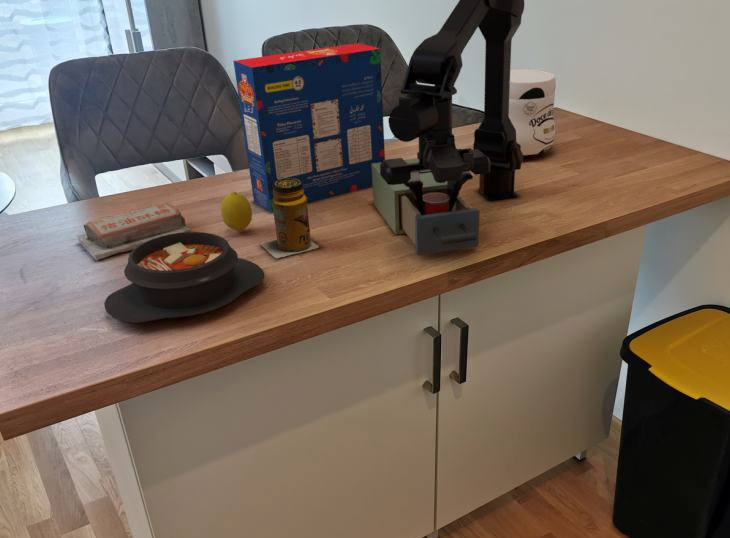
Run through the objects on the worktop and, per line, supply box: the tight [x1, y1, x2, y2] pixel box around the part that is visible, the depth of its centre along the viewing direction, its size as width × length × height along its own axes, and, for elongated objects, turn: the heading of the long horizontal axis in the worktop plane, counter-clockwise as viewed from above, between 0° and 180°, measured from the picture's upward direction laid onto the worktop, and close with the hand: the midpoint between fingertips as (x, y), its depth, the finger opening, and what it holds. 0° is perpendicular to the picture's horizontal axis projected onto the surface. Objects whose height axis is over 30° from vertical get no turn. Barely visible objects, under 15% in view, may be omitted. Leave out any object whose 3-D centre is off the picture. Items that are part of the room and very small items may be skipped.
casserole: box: [103, 231, 265, 324], centre depth 114 cm, size 25×19×8 cm
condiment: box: [260, 178, 320, 259], centre depth 129 cm, size 7×8×12 cm
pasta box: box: [233, 42, 386, 214], centre depth 149 cm, size 28×8×28 cm, turn 127°
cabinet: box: [371, 157, 460, 235], centre depth 142 cm, size 17×13×9 cm
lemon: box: [220, 191, 253, 233], centre depth 136 cm, size 6×6×8 cm
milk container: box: [509, 68, 556, 159], centre depth 173 cm, size 17×17×18 cm
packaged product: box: [76, 202, 192, 261], centre depth 134 cm, size 18×5×10 cm
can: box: [423, 193, 450, 215], centre depth 131 cm, size 5×5×5 cm
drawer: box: [398, 188, 480, 256], centre depth 130 cm, size 21×11×7 cm, turn 18°
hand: (435, 212), depth 131 cm, fingers closed on can, 5 cm apart
